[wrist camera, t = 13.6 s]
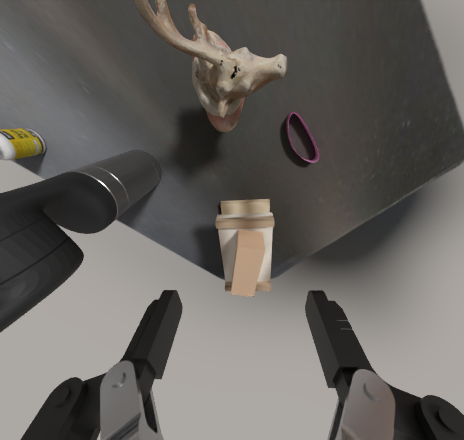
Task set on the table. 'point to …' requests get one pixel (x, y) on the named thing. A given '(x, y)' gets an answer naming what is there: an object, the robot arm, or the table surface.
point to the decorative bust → (215, 65)
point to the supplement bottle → (20, 144)
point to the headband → (308, 134)
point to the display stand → (250, 219)
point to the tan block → (247, 262)
